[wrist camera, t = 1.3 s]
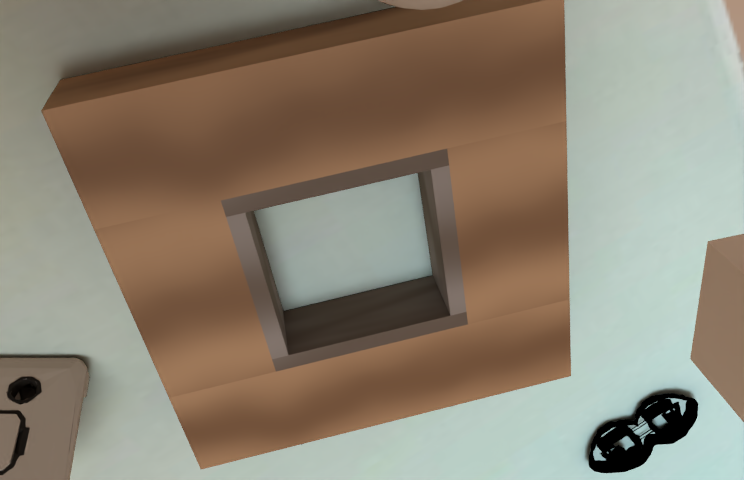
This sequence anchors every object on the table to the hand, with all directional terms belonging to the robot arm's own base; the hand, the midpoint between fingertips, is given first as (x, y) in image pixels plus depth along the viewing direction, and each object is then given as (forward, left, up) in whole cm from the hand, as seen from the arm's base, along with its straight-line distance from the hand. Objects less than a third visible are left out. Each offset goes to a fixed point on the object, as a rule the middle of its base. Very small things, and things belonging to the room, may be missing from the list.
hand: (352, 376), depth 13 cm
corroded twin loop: (+29, +17, -21) cm, 40 cm away
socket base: (+9, +1, -21) cm, 23 cm away
